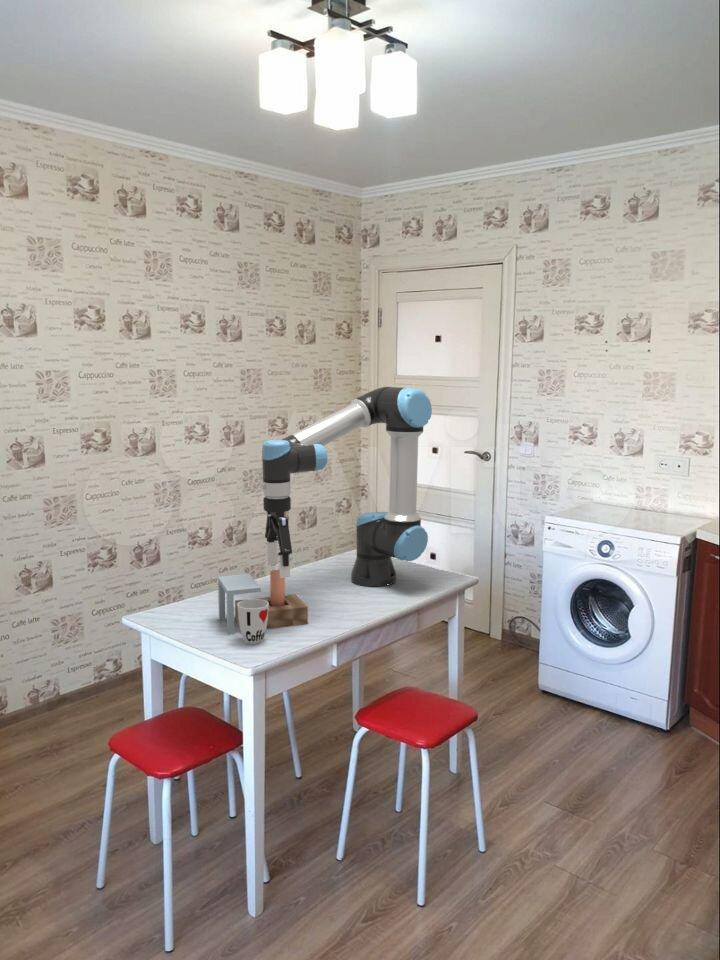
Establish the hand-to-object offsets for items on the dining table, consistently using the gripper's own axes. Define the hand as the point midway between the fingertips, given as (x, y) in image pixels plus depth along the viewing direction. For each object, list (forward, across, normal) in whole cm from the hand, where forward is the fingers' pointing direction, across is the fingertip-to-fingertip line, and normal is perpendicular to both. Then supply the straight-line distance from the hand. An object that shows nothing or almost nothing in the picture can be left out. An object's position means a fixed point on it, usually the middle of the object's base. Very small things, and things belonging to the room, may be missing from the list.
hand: (278, 570), depth 213 cm
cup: (+14, +13, -11) cm, 22 cm away
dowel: (+14, 0, -1) cm, 14 cm away
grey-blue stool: (+14, 0, -12) cm, 18 cm away
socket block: (+14, 0, -3) cm, 15 cm away
